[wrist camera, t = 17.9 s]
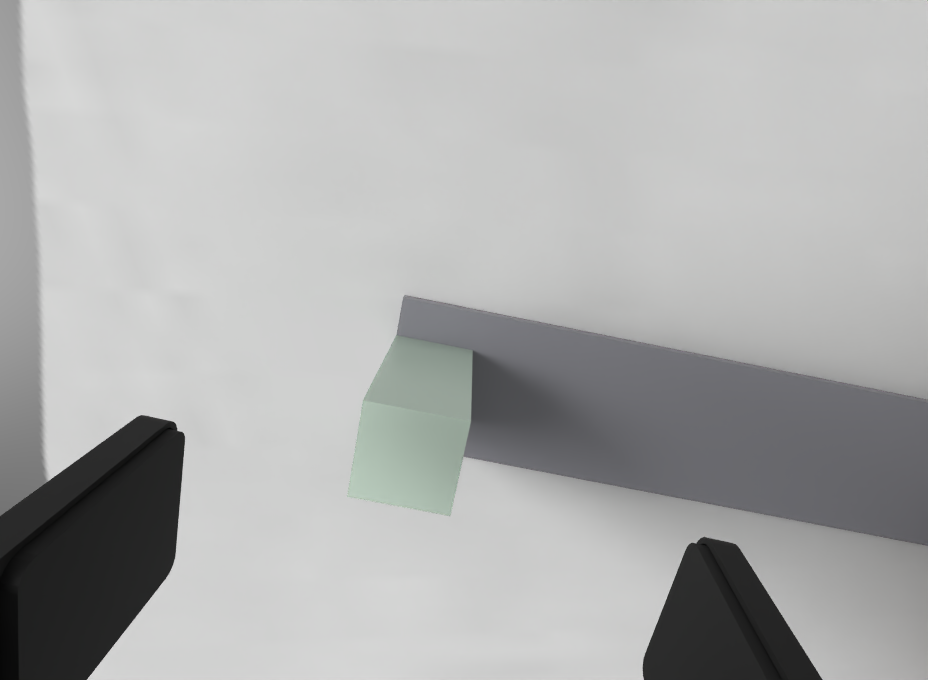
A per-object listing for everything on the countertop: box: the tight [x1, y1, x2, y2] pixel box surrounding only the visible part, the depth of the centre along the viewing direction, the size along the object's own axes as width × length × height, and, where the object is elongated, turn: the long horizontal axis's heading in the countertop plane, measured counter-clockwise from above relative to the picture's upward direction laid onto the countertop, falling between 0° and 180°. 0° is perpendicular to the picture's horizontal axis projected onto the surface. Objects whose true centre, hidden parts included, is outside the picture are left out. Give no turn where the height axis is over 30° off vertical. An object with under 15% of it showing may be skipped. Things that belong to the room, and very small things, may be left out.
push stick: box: [347, 295, 928, 546], centre depth 21 cm, size 6×25×8 cm, turn 79°
